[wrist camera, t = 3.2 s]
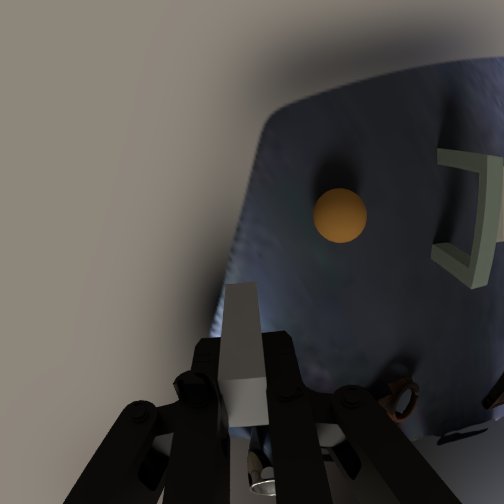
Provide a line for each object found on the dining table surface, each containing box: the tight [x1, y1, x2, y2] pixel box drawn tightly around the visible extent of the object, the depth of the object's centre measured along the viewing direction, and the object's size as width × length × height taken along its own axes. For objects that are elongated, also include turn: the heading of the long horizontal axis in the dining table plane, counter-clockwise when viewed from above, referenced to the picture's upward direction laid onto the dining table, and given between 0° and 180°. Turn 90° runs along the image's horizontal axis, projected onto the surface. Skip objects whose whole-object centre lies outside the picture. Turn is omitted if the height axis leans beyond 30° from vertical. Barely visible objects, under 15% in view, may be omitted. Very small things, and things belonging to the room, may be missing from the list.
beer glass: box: [247, 424, 276, 495], centre depth 35 cm, size 7×7×15 cm
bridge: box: [431, 148, 503, 289], centre depth 26 cm, size 3×14×9 cm, turn 5°
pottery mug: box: [377, 376, 419, 426], centre depth 40 cm, size 12×10×8 cm
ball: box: [313, 188, 367, 243], centre depth 28 cm, size 6×6×6 cm
